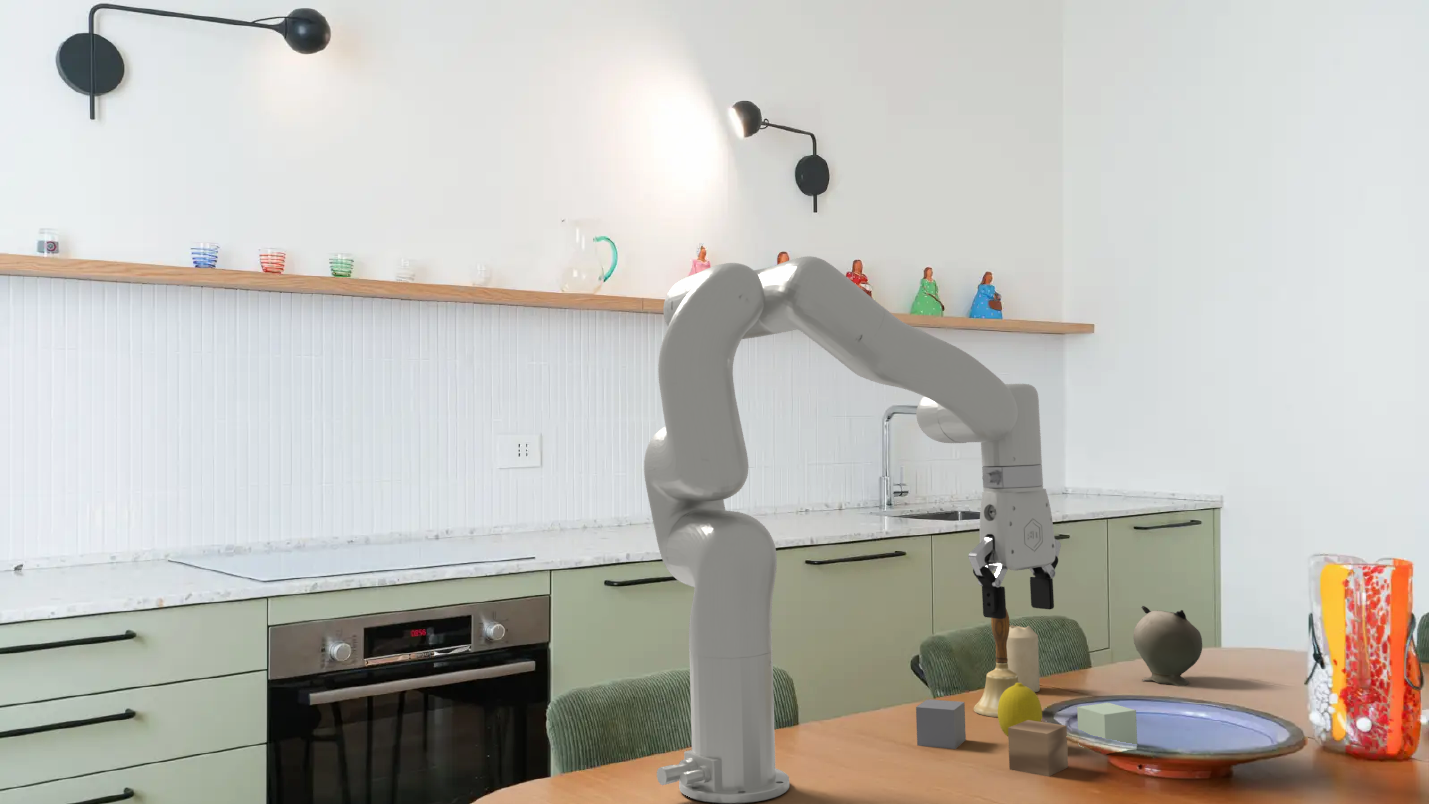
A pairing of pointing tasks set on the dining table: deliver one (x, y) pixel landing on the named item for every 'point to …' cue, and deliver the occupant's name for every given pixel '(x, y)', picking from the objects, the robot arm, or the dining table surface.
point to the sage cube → (1108, 722)
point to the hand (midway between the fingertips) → (1019, 612)
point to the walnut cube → (1038, 747)
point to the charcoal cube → (940, 723)
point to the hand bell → (997, 671)
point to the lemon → (1018, 707)
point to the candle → (1024, 656)
